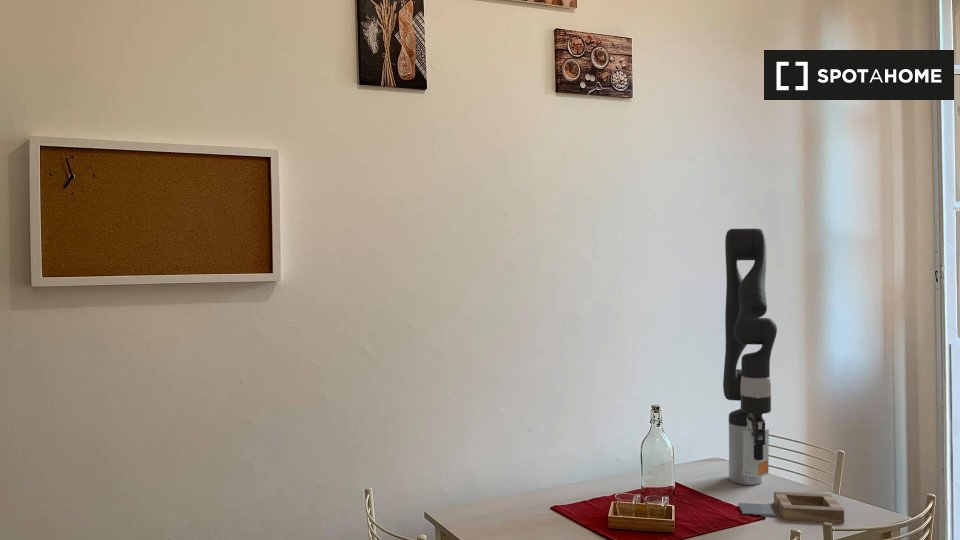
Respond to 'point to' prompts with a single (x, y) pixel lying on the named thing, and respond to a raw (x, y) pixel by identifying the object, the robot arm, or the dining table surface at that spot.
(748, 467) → the skincare box
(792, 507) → the socket block
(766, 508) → the slate coaster
